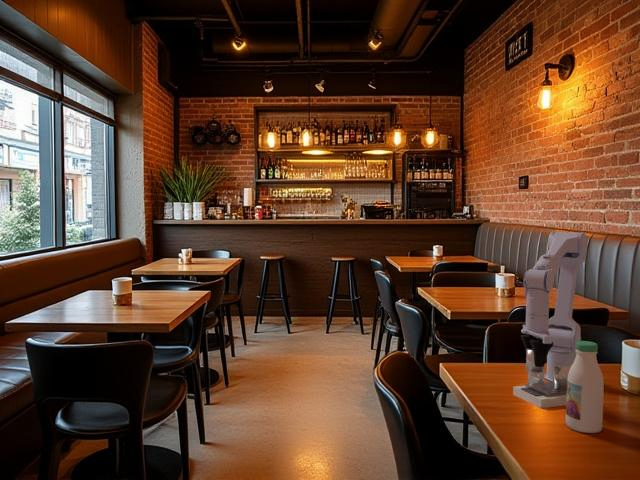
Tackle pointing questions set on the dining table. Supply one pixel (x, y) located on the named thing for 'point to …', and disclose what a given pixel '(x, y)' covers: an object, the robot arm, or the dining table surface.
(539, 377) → the cylinder
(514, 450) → the dining table surface
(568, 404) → the milk bottle
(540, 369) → the cylinder
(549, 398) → the scale
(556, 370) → the cylinder
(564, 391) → the grey metal plate
